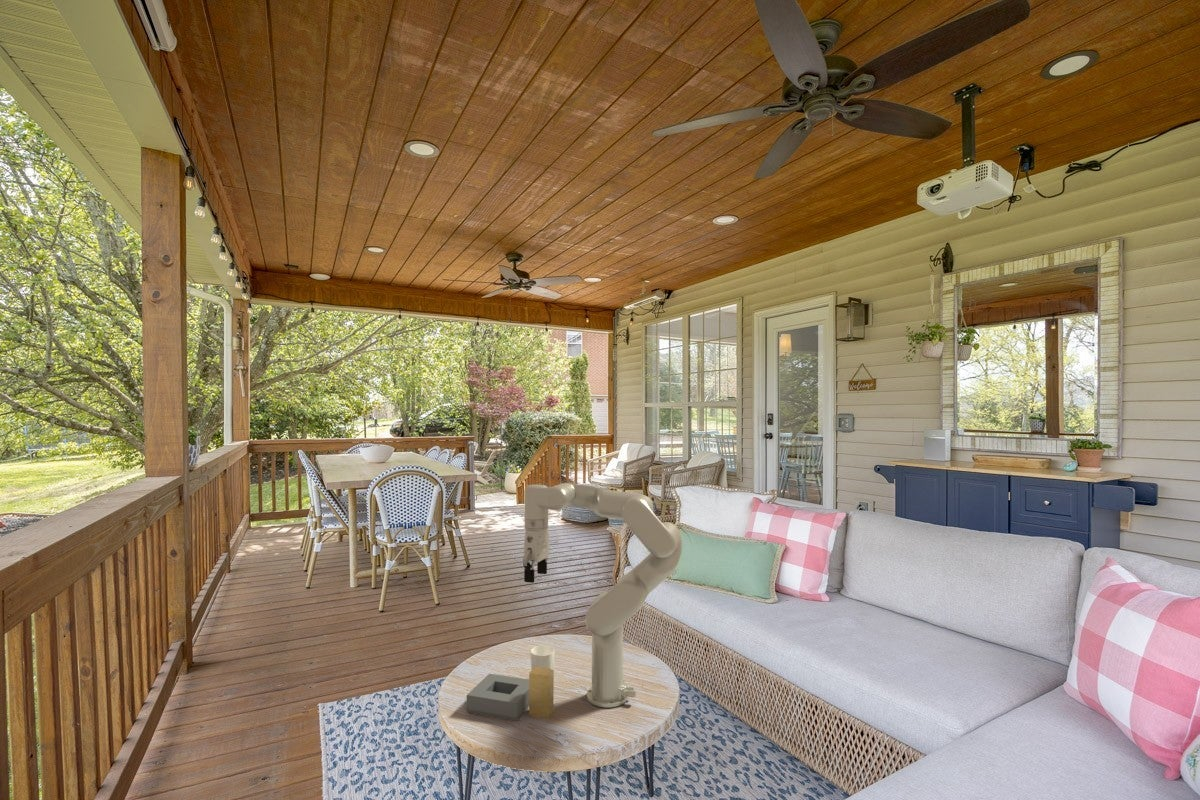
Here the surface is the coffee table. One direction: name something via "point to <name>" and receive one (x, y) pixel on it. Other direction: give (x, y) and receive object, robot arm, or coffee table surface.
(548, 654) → the white cup
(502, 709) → the well block
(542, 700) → the tall yellow pillar
